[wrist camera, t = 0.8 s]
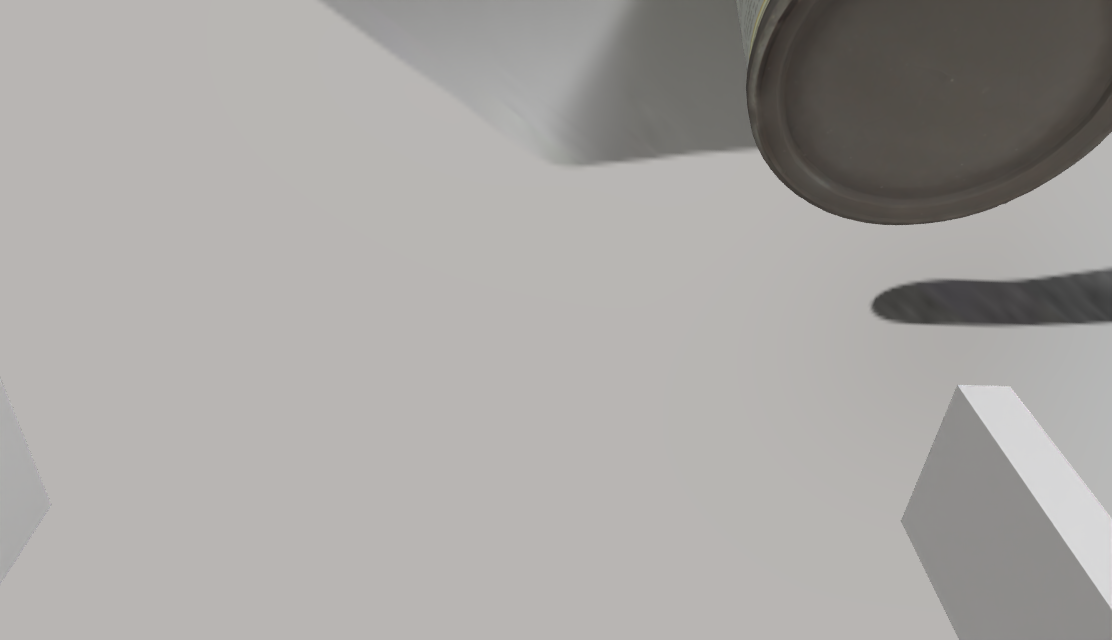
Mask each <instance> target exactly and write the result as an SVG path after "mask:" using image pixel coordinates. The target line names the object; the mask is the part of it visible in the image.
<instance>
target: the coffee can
mask: <svg viewBox="0 0 1112 640" xmlns="http://www.w3.org/2000/svg"><path fill="white" fill-rule="evenodd" d="M736 5H737V11H738V17H739V23H740V29H741V36H742V42H743V49H744V54H745V60H746V67H747V84H746V91H747V105H748V113H749V118H750V123H751V128H752V132H753V136H754V139H755V141H756V144H757V147H758V149H759V151H760V153H761V155H762V156H763V159H764V160H765V161H766V163H767V164H768V166H769V167H770V169H771V170H772V171H773V172H774V174H775V175H776V176H777V177H778V178H779V179H780V180H781V181H782V182H783V183H784V184H785V185H786V186H787V187H788V188H789V189H790V190H792V191H793V192H794V193H795V194H796V195H798V196H799V197H801V198H803V199H804V200H806V201H807V202H809V203H811V204H812V205H814V206H816V207H818V208H820V209H822V210H824V211H826V212H829V213H831V214H834V215H838V216H840V217H843V218H847V219H852V220H856V221H860V222H865V223H872V224H882V225H911V224H924V223H933V222H940V221H947V220H952V219H957V218H962V217H966V216H969V215H973V214H976V213H980V212H983V211H986V210H989V209H992V208H994V207H997V206H999V205H1001V204H1005V203H1007V202H1009V201H1011V200H1013V199H1015V198H1017V197H1019V196H1022V195H1024V194H1026V193H1028V192H1030V191H1032V190H1034V189H1036V188H1037V187H1039V186H1041V185H1042V184H1044V183H1046V182H1047V181H1049V180H1051V179H1052V178H1054V177H1056V176H1057V175H1059V174H1060V173H1062V172H1063V171H1065V170H1066V169H1068V168H1069V167H1071V166H1072V165H1073V164H1075V163H1076V162H1077V161H1079V160H1080V159H1082V158H1083V157H1084V156H1086V155H1087V154H1088V153H1089V152H1090V151H1092V150H1093V149H1094V148H1095V147H1096V146H1098V144H1100V143H1101V141H1103V140H1104V139H1105V138H1106V136H1108V135H1109V133H1111V132H1112V0H736Z"/></svg>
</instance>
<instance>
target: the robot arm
mask: <svg viewBox="0 0 1112 640" xmlns="http://www.w3.org/2000/svg"><path fill="white" fill-rule="evenodd" d="M50 506H51V502H50V500H49V497H48V495H47V493H46V490H45V487H44V485H43V483H42V480H41V478H40V475H39V472H38V470H37V468H36V465H35V463H34V460H33V458H32V455H31V453H30V450H29V448H28V445H27V443H26V440H25V438H24V435H23V433H22V430H21V428H20V425H19V423H18V420H17V418H16V415H15V413H14V411H13V408H12V405H11V403H10V400H9V398H8V395H7V393H6V390H5V388H4V386H3V383H2V381H1V378H0V584H1V582H2V581H3V579H4V578H5V576H6V574H7V573H8V572H9V570H10V568H11V567H12V565H13V564H14V562H15V561H16V559H17V558H18V556H19V555H20V553H21V551H22V550H23V548H24V547H25V545H26V544H27V542H28V541H29V539H30V537H31V536H32V534H33V533H34V531H35V530H36V528H37V527H38V525H39V523H40V522H41V520H42V519H43V517H44V516H45V514H46V512H47V511H48V509H49V508H50ZM901 522H902V524H903V526H904V528H905V530H906V532H907V534H908V536H909V538H910V540H911V542H912V544H913V547H914V549H915V551H916V552H917V555H918V557H919V559H920V561H921V563H922V565H923V567H924V569H925V571H926V573H927V575H928V577H929V579H930V581H931V583H932V585H933V587H934V589H935V591H936V594H937V596H938V598H939V599H940V602H941V604H942V606H943V608H944V610H945V612H946V614H947V616H948V618H949V620H950V622H951V624H952V626H953V628H954V630H955V632H956V634H957V636H958V638H959V640H1112V518H1111V517H1110V516H1109V514H1108V513H1107V512H1106V510H1105V509H1104V508H1103V506H1102V505H1101V504H1100V503H1099V501H1098V500H1097V499H1096V498H1095V496H1094V495H1093V494H1092V492H1091V491H1090V490H1089V488H1088V487H1087V486H1086V485H1085V483H1084V482H1083V480H1082V479H1081V478H1080V477H1079V475H1078V474H1077V473H1076V472H1075V470H1074V469H1073V468H1072V466H1071V465H1070V464H1069V462H1068V461H1067V460H1066V458H1065V457H1064V456H1063V455H1062V453H1061V452H1060V451H1059V449H1058V448H1057V447H1056V445H1055V444H1054V443H1053V442H1052V440H1051V439H1050V438H1049V436H1048V435H1047V434H1046V433H1045V431H1044V430H1043V429H1042V427H1041V426H1040V425H1039V423H1038V422H1037V421H1036V420H1035V418H1034V417H1033V416H1032V414H1031V413H1030V412H1029V411H1028V409H1027V408H1026V406H1025V405H1024V404H1023V403H1022V401H1021V400H1020V399H1019V397H1018V396H1017V395H1016V394H1015V392H1014V391H1013V390H1012V388H1011V387H1010V386H975V385H957V387H956V389H955V392H954V394H953V397H952V399H951V402H950V404H949V406H948V409H947V411H946V413H945V416H944V418H943V421H942V423H941V426H940V428H939V431H938V433H937V435H936V438H935V440H934V442H933V445H932V447H931V450H930V452H929V455H928V457H927V459H926V462H925V464H924V467H923V469H922V471H921V474H920V476H919V479H918V481H917V483H916V486H915V488H914V491H913V493H912V496H911V498H910V500H909V503H908V505H907V507H906V510H905V512H904V515H903V517H902V520H901Z"/></svg>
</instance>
